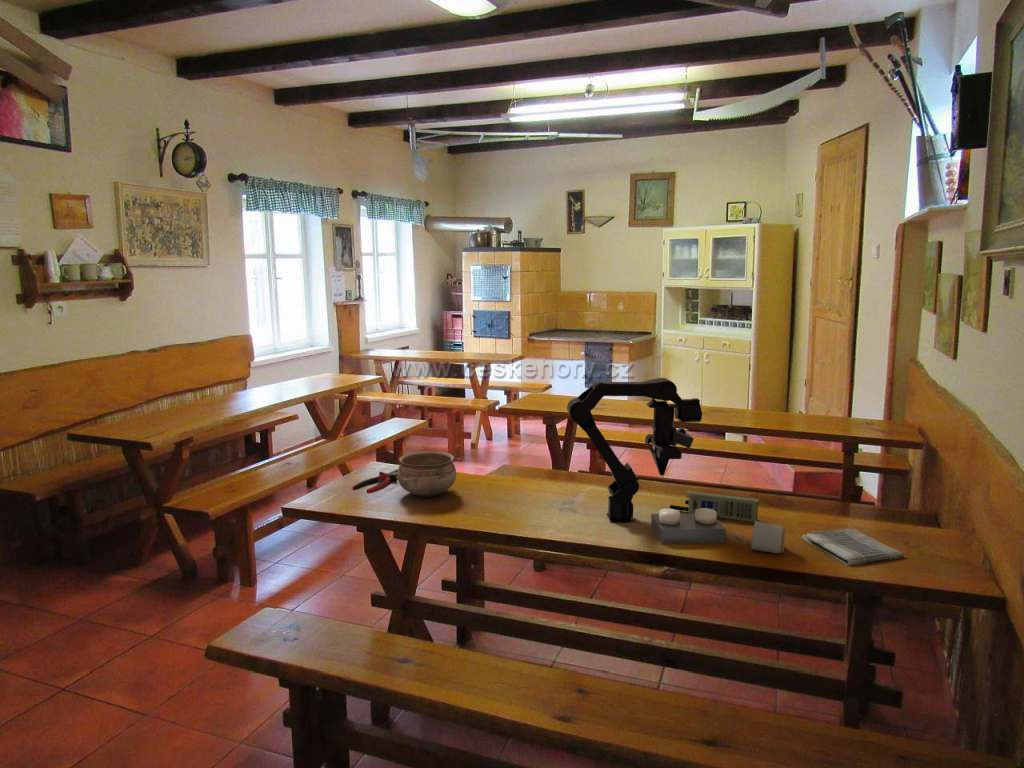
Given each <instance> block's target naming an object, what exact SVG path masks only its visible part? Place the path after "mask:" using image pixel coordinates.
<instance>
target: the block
mask: <svg viewBox="0 0 1024 768" xmlns="http://www.w3.org/2000/svg"><path fill="white" fill-rule="evenodd" d="M786 532H787V530H786V528H785V527H782V526H780V525H776V524H771V523H767V522H763V521H758V520H757V521H755V522H754V525H753V529H752V539H751V550H754V551H759V552H765V553H772V554H783V553H784V550H785V543H786Z"/></svg>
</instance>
